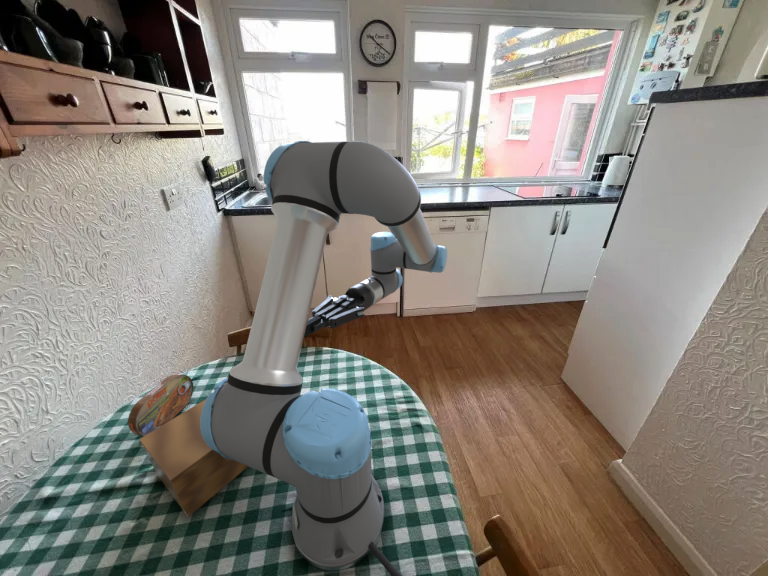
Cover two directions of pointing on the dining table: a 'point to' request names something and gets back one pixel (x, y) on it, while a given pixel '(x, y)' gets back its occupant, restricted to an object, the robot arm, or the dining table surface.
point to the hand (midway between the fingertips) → (298, 333)
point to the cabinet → (188, 461)
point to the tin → (160, 404)
